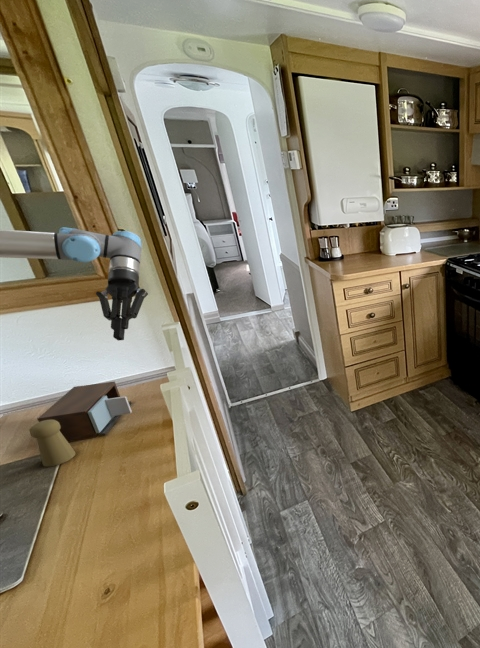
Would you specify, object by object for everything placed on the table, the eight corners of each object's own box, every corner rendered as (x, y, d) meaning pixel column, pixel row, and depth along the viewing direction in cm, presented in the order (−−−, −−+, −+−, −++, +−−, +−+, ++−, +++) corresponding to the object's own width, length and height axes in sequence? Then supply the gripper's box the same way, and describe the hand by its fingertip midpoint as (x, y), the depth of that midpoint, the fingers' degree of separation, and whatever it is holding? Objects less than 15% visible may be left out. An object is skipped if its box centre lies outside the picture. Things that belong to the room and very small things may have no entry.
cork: (36, 464, 95) (17, 428, 91) (64, 449, 101) (48, 414, 97) (53, 468, 94) (35, 432, 90) (81, 453, 100) (66, 418, 95)
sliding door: (96, 433, 106) (87, 412, 103) (111, 415, 114) (103, 395, 111) (121, 429, 108) (112, 408, 105) (133, 412, 115) (126, 392, 113)
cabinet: (49, 444, 102) (37, 418, 99) (84, 410, 118) (73, 386, 115) (105, 435, 107) (95, 409, 103) (131, 403, 122) (123, 380, 119)
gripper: (153, 278, 130) (149, 340, 121) (105, 281, 125) (99, 345, 117) (142, 266, 123) (138, 330, 115) (92, 268, 119) (84, 336, 110)
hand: (118, 338), depth 116 cm, fingers closed
